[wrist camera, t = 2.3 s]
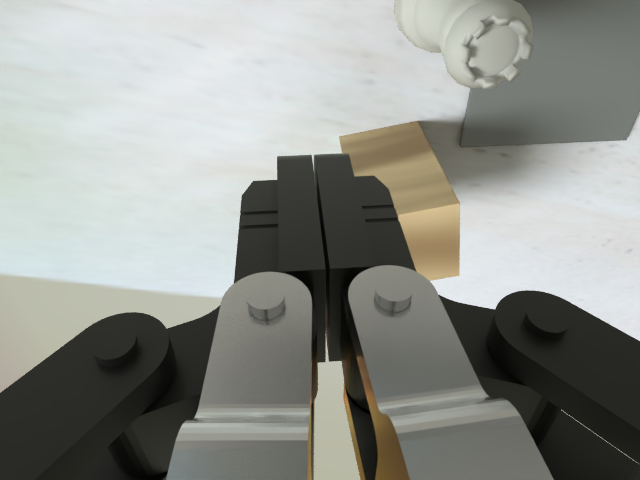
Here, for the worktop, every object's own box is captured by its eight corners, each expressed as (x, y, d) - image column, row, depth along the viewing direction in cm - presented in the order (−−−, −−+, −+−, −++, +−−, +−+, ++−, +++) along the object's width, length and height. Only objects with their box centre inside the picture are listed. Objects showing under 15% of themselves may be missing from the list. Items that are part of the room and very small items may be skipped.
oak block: (339, 136, 27) (358, 222, 21) (417, 120, 27) (459, 203, 21) (350, 200, 30) (369, 291, 24) (421, 186, 30) (459, 275, 24)
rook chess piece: (499, -48, 22) (586, -4, 16) (464, 51, 25) (527, 120, 19) (406, -67, 21) (460, -28, 15) (381, 37, 24) (418, 105, 18)
